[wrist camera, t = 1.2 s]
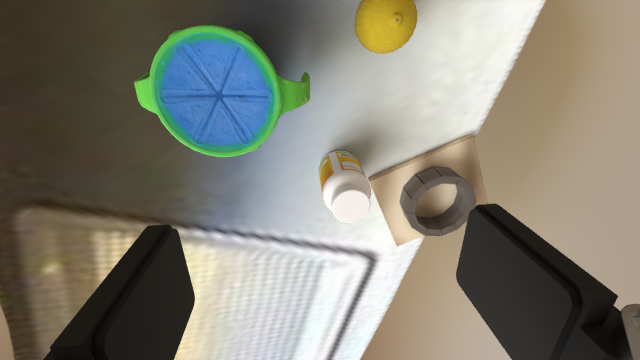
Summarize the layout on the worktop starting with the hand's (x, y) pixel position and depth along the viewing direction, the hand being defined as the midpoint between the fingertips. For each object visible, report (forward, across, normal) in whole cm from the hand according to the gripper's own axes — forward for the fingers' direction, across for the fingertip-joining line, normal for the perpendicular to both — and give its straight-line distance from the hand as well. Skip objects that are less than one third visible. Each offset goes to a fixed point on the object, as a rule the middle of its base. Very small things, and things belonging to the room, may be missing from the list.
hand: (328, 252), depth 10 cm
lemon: (+28, -8, -8) cm, 30 cm away
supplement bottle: (+28, -4, +9) cm, 30 cm away
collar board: (+28, -17, +13) cm, 35 cm away
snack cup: (+28, +7, -3) cm, 29 cm away
